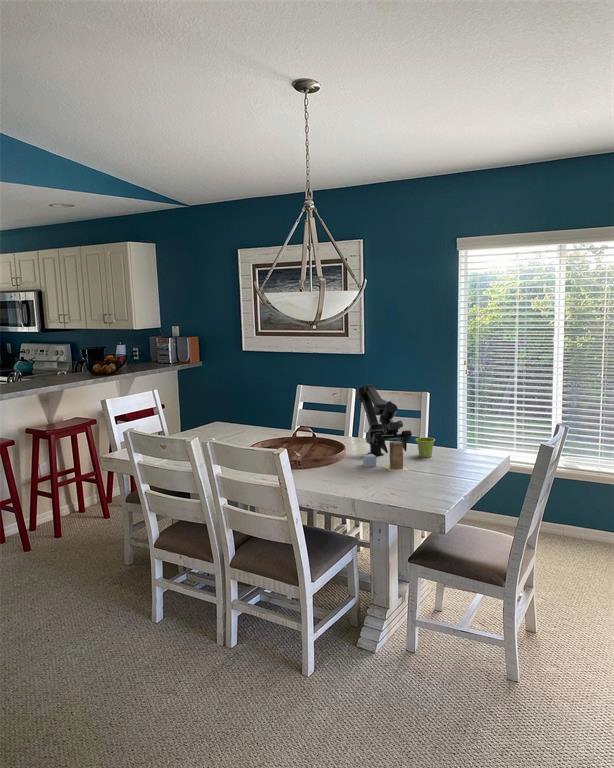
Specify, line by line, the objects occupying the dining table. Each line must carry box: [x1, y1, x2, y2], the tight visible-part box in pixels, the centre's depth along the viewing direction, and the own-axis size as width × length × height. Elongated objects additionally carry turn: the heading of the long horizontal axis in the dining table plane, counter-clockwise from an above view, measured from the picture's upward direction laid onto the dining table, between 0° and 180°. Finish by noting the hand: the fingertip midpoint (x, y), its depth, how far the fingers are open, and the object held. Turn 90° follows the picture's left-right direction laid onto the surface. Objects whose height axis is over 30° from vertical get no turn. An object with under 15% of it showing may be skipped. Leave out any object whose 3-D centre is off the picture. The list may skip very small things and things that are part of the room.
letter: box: [381, 463, 409, 472], centre depth 278 cm, size 12×9×1 cm
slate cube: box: [362, 454, 377, 468], centre depth 283 cm, size 5×5×5 cm
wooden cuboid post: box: [389, 440, 404, 469], centre depth 277 cm, size 5×5×12 cm
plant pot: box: [415, 436, 436, 458], centre depth 296 cm, size 9×9×9 cm
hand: (396, 452), depth 276 cm, fingers open, 9 cm apart
